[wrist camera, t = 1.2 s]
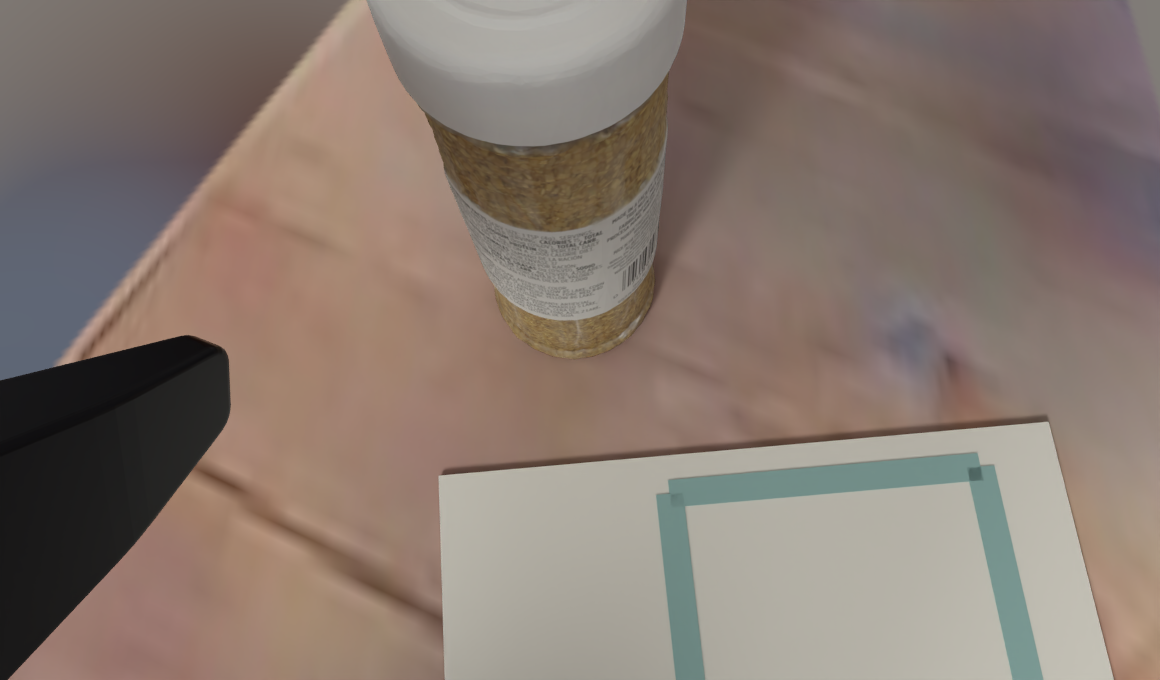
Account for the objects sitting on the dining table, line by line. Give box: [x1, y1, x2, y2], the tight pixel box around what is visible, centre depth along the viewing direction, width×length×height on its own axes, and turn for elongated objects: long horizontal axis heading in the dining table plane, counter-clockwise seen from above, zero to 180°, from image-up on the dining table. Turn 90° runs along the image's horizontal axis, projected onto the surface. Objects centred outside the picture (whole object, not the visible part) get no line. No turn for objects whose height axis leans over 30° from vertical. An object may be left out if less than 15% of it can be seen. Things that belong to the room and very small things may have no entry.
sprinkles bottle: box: [367, 0, 687, 359], centre depth 18 cm, size 5×5×14 cm
